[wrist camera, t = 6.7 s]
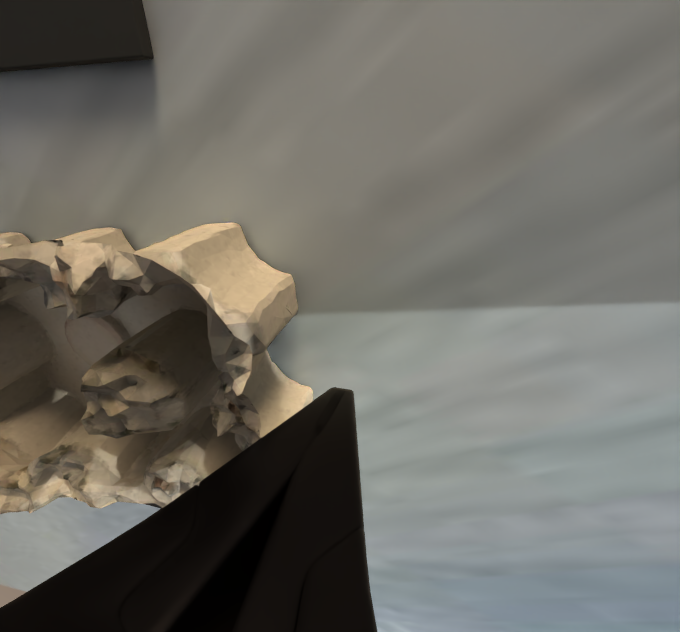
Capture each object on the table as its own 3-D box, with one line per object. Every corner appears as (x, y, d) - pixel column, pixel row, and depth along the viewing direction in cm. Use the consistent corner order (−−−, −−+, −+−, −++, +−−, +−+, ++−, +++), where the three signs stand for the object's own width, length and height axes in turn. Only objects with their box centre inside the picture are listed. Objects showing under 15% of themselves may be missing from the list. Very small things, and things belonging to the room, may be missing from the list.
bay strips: (138, -21, 7) (125, -27, 6) (252, 523, 14) (248, 530, 14) (-119, 17, 8) (-137, 12, 8) (105, 487, 15) (99, 493, 15)
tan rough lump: (60, 408, 14) (-74, 505, 10) (-42, 207, 10) (-297, 246, 7) (326, 458, 11) (272, 611, 8) (309, 212, 8) (194, 279, 4)
